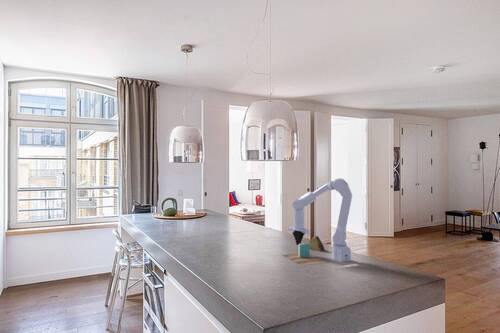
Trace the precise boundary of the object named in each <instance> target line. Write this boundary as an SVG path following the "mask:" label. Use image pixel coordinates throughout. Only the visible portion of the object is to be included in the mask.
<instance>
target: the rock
mask: <svg viewBox="0 0 500 333" xmlns="http://www.w3.org/2000/svg"><path fill="white" fill-rule="evenodd" d="M308 243H309V244H310V250H315V251H319V252H320V251H325V250H326V249H325V247H324V246H325V245H324V244H323V242H322V240H321V239H320V237H319V236H318V235H314V236H313V237H312V238H311V239H310V240H309V241H308Z"/></svg>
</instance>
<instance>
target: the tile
mask: <svg viewBox="0 0 500 333" xmlns="http://www.w3.org/2000/svg"><path fill="white" fill-rule="evenodd" d="M310 250H311V249H310V244H309V242H306V243H301V244H299V245H298V253H299V254H298V257H300V258H301V257H309V254H310Z"/></svg>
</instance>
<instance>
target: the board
mask: <svg viewBox="0 0 500 333" xmlns="http://www.w3.org/2000/svg"><path fill="white" fill-rule="evenodd" d="M298 254H299V252H296V253H287V254H286V253H285V254H281V256H282V257H284V258H286V259H288V260H290V261H292V262H294V263H295V264H298V265H300V266H309V265H318V264H326V263H327V264H328V263H329V261H327V260H324V259H322V258H319V257H317V256H315V255H313V254H310V253H309V257H301V258H300V257H298Z"/></svg>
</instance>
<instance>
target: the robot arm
mask: <svg viewBox="0 0 500 333" xmlns="http://www.w3.org/2000/svg"><path fill="white" fill-rule="evenodd" d="M334 190H335V191H336V192H337V193H339V194H340V196H341V197H342V198H341V205H340V210H339V214H338V220H337V226H336V228H335V232H334V234H333V236H332V241H333V242H332V260H336V261H337V262H342V263H343V262H351V259H352V258H351V256H352V254H351V252H352V251H351V249H350V247H349V246H348V244H347V242H346V240H347V224H348V219H349V214H350V208H351V203H352V198H353V193H352V191H351V189H350V186H349V184H348V182H347V181H346V180H345V179H344V178H336V179H334V180H331V181H328V182H327V183H325V184H324V185H322V186H320V187H319V188H318V189H316V190H314V191H306V192H305V194H304V195H302V196H299V197H298V198H297V199H295V200H294V201H293V202H292V208H293V226H288V231H292V232H291V233H292V235H293V237H294V240H295V244H296V246H299V244H302V241H303V237H304V236H305V234H306V235H308V234H310V229H307V228H305V227H304V226H305V225H304V224H305V209H304V208H305V207H307V206H309V205H310V204H312V203H313V202H315V201H316V200H317V197H319V196H320V195H322V194H324V193H326V192H327V191H334Z"/></svg>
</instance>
